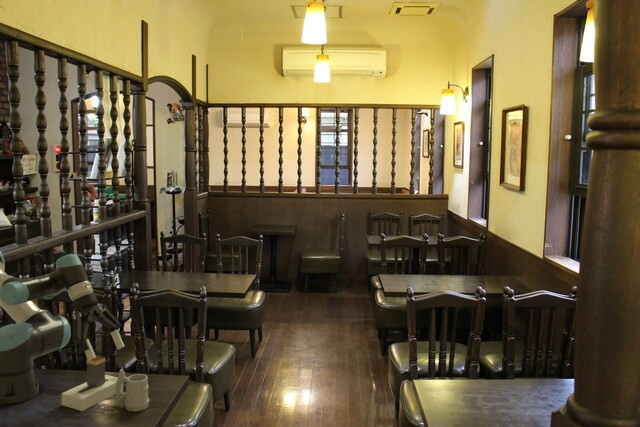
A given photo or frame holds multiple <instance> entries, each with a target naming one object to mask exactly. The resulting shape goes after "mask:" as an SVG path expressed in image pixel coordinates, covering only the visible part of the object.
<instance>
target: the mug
mask: <svg viewBox="0 0 640 427" xmlns="http://www.w3.org/2000/svg"><path fill="white" fill-rule="evenodd" d="M117 378H118V380H117V383H116V386H115V392H116V393H115V394H114V395H115V397H116V399H117V401H118V402H121V401H122V400H123V399H125V400H124V406H125V409H126V411H129V412H140V411H144V410H146V409H147V408H148V407H149V403H150V397H149V382H148V379H149V377H148V375H146V374H143V373H142V374H141V373H137V374H132V375H129V376H126V372H125V370H124V369H123V368H121V369H119V374H118V376H117ZM123 381H127V386H126V389H125V392H123V390H121V384H122V382H123Z"/></svg>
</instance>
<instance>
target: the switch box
mask: <svg viewBox="0 0 640 427" xmlns="http://www.w3.org/2000/svg"><path fill="white" fill-rule="evenodd" d="M117 380H118V376H117V377H116V376H112V375H109V374H105V383H104V384H102V385H100V386H98V387H93V386H89V385H87V381H86V382H84V383H82V384H79V385H77V386H74V387H73V388H70V389H69V390H66V391H64V392H61V406H64V407H68V408H71V409H74V410H77V411H81V412H83V411H85V410H87V409H89V408H91V407H93V406H94V405H97V404H99V403H100V402H103V401H104V400H107V399H108V398H110V397H113V396H114V395H115V393H116V392H115V386H116V383H117ZM121 390H122V391H124V388H123V382H122V384H121Z"/></svg>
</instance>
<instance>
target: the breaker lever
mask: <svg viewBox="0 0 640 427" xmlns="http://www.w3.org/2000/svg"><path fill="white" fill-rule="evenodd" d="M95 356H96V357H95V358H94V359H92V360H90V361H89V360H88V358H87V359H86V382H87V385H89V386H93V387H98V386H100V385H102V384H104V383H105V375H106V357H104V356H100V355H95Z"/></svg>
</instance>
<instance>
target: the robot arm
mask: <svg viewBox="0 0 640 427" xmlns="http://www.w3.org/2000/svg"><path fill="white" fill-rule="evenodd" d="M5 262H6V261H5V258H4V254H3V253H2V251H1V250H0V307H1V308H2V309H3V310H4V311H5V312H6V313H7V315H8V316H10V317H11V319H12V320H13V321H14V322H15V323H10V324H7V325H4V326H1V327H0V405H2V406H3V405H13V404H17V403H22V402H25V401H28V400H30V399H32V398H35V397H36V395H38V394H39V392H40V390H39V388H40V386H39V385H40V384H39V382H38V379H37V376H36V374H35V372H34V360H35V359H36V358H39V357H43V356H45V355H47V354H50V353H53V352H56V351H59V350H60V349H62V348H65V347H66V345H67V344H68V343H69V342H70V339H71V336H72V342H73V343H76V344H79V345H80V347H81V349H82V351H83V352H84V353H85V356H86V358H87V359H88V360H89V361H90V360H92V359H94V358H95V357H96V356H97V355H96V353H95V351H94V349H93V346H92V344H91V341H90V340H89V338H87V335H88V331H89V326H90V324H91V323H94V322H96V323H100V324H101V326H102V325H103V326H104V327H105V328H106V329H108V330H109V331H110V335H111V338H112V340H113V342H114V344H115V348H116V349H117V350H120V349H123V348H124V347H125V344H124V342H123V340H122V335H121V333H120V330H119V329H121V327H122V323H121V322H120V321H119V320H118V319H117V318H116V316H115V315H114V314H112V313H111V311H109V309H108V307H107V305H106V304H103V305H101V306H99V305H98V303H99V301H98V300H99V299H98V298H97V296H96V294H95V293H93V292H94V290H93V287H92V285H91V282H90V280H89V278H88V276H87V273H86V271H85V268H84V265H83V263H82V261H81V260H80V258H79V255H77V254H75V253H70V254H66V255H64V256H61V257H59V258H58V259H57V260H56V261H55V266H56V269H55V270H53V271H52V272H50V273H48V274H44V275H40V276H33V277H31V278H30V277H29V278H24V279H23V278H19V277H16V276H12V275H8V273H6V272H5V269H6V268H5V264H6V263H5ZM65 290H66V291H67V294H68V296H69V298H70V300H71V301H72V306H73V308H74V310H75V312H74V313H72V314H71V315H70V316H71V320H72V329H71V324H70V322H69V321H68V319H67V318H66V317H64V316H62V315H56V316H54V315H53V314H52V313H51V312H50V311H49V310H48V309H41V308H40V307H39V306H38V305H37V304H36V303H35V302H34V301H35V300H40V299H44V300H50V299H52V298H54V297H56V296H58V295H60V293H63V291H65ZM71 330H72V333H71ZM71 334H72V335H71Z"/></svg>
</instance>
